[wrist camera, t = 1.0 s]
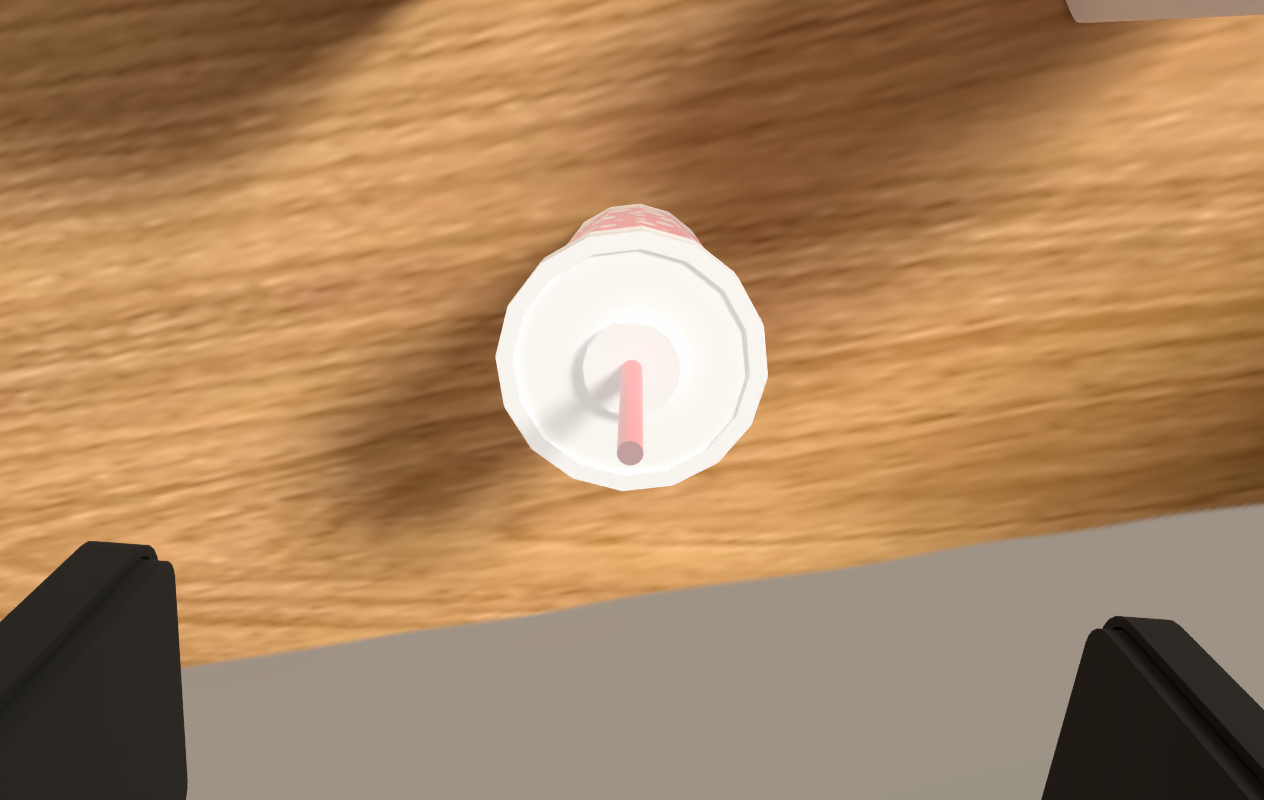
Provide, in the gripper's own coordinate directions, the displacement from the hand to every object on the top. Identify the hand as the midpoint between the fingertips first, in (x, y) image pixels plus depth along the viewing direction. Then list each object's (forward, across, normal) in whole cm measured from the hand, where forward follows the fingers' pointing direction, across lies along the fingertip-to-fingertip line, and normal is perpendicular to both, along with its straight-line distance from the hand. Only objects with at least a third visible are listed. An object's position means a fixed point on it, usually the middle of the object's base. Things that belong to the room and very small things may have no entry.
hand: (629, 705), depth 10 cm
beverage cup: (+22, -1, 0) cm, 22 cm away
